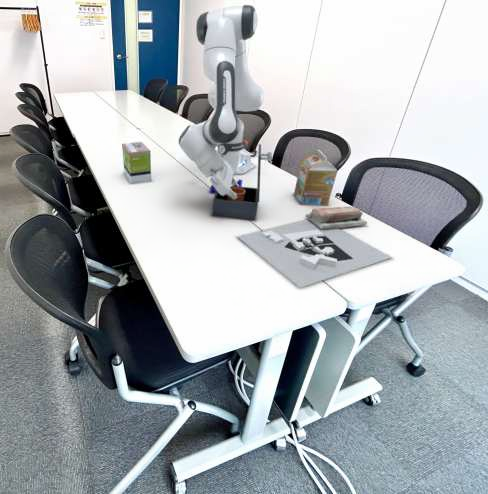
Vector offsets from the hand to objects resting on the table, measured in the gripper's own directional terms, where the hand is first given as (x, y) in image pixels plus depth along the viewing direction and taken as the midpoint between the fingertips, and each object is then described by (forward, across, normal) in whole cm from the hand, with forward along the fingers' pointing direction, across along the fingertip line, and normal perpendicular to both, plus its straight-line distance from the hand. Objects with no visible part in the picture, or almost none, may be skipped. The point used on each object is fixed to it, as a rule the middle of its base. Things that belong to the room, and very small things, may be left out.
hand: (236, 192), depth 125 cm
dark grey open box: (+5, 0, +5) cm, 7 cm away
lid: (-1, 0, -11) cm, 11 cm away
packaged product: (+30, -2, -20) cm, 36 cm away
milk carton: (+26, +17, -16) cm, 35 cm away
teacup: (+4, 0, +4) cm, 6 cm away
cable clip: (+2, +16, +9) cm, 18 cm away
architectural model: (+23, -22, -13) cm, 34 cm away
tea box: (-28, +24, +39) cm, 54 cm away
